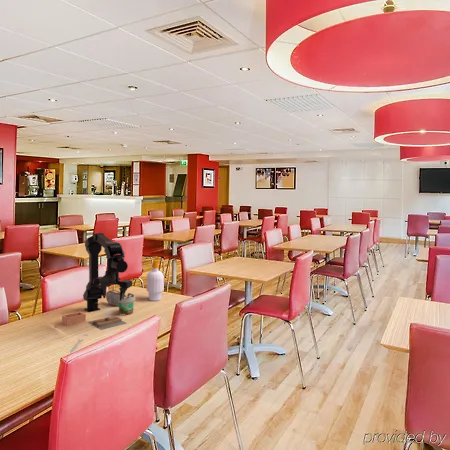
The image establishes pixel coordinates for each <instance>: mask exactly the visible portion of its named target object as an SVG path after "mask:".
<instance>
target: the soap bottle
mask: <svg viewBox="0 0 450 450" xmlns="http://www.w3.org/2000/svg"><path fill="white" fill-rule="evenodd" d="M160 262H161V260H156V259H154V260H153V262H152V270H151V271H148V273H147V274H146V292H147V293H148V300H149V301H152V302H157V301H160V300H162V292H164V290H165V289H164V284H165V283H164V281H165V277H164V274H163V272H162V271H160V270H159V263H160Z"/></svg>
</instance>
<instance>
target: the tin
mask: <svg viewBox="0 0 450 450" xmlns="http://www.w3.org/2000/svg"><path fill="white" fill-rule="evenodd" d="M125 296H127V295H126V293H125V294H124V296H123V297H125ZM105 299H106V302H108V304H109V305H111V306H115V307H119V303H118V300H119V299H120V290H114V289H111V290H108V291H106V297H105Z"/></svg>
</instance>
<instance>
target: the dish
mask: <svg viewBox="0 0 450 450" xmlns="http://www.w3.org/2000/svg"><path fill="white" fill-rule="evenodd" d="M86 317H87V316H86V313H84V312H82V311H78V312H71V313H67V314H62V315H61V323H62V324H63V325H64V326H67V327H69V326H73V325H76V324H81V323H85V322H86V321H87V320H86Z"/></svg>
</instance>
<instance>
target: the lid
mask: <svg viewBox="0 0 450 450" xmlns="http://www.w3.org/2000/svg"><path fill="white" fill-rule="evenodd" d="M92 321H93V324H94V325H96V326H98V327H103V326H107V325H111V324H115V323H119V322H122V321H123V319H122V318H120V317H118V316H116V315H111V316H107V317H101V318H99V319H94V320H92Z"/></svg>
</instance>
